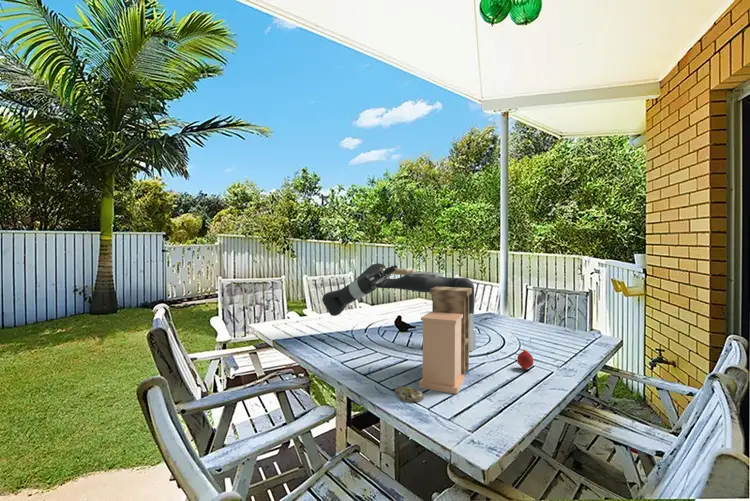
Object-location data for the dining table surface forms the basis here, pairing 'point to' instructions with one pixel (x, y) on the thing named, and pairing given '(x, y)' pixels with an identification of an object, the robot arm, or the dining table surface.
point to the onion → (525, 360)
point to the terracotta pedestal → (442, 352)
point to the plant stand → (458, 304)
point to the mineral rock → (408, 394)
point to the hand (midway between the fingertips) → (395, 267)
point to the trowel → (412, 272)
